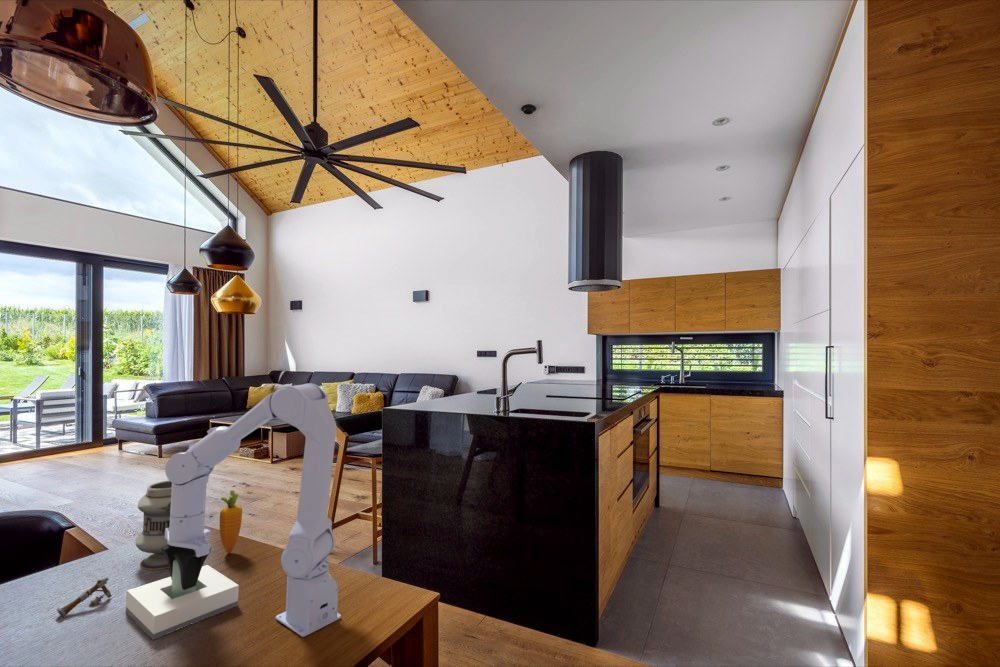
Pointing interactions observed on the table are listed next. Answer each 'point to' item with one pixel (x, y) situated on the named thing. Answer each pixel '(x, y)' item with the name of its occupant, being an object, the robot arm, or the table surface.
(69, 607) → the wooden post with brackets
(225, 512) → the carrot
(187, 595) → the socket block
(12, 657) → the table surface
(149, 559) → the apothecary jar
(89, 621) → the table surface
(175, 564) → the peg
